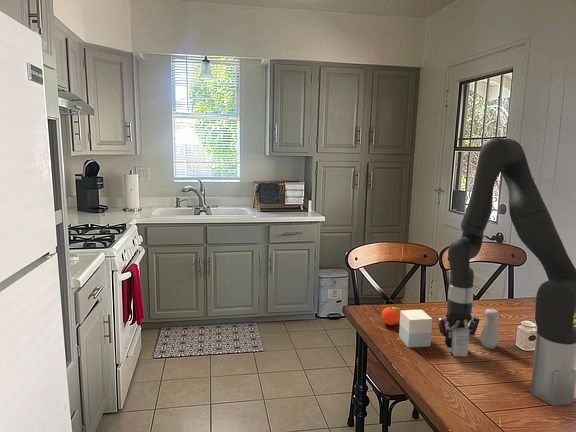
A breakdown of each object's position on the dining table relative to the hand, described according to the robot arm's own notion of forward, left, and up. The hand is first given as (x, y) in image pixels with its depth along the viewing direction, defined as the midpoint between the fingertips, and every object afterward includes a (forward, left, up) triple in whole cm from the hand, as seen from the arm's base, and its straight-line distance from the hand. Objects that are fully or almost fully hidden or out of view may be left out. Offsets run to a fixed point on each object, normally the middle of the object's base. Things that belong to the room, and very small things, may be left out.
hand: (456, 346), depth 135 cm
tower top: (+8, +11, +3) cm, 14 cm away
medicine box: (0, 0, -2) cm, 2 cm away
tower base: (+8, +11, -2) cm, 14 cm away
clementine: (+22, +14, -2) cm, 26 cm away
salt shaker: (+2, -13, -2) cm, 13 cm away
